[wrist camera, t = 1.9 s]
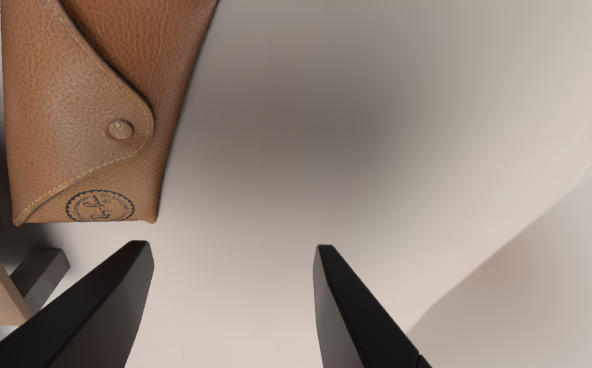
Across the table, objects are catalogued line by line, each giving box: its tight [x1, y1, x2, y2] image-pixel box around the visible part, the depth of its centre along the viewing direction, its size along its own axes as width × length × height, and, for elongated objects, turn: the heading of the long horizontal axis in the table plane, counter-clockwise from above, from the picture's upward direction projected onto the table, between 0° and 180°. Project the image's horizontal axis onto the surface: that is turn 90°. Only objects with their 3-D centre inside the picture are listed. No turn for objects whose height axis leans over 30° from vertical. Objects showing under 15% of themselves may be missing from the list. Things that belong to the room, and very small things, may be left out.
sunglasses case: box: [0, 0, 218, 227], centre depth 17 cm, size 18×7×7 cm
